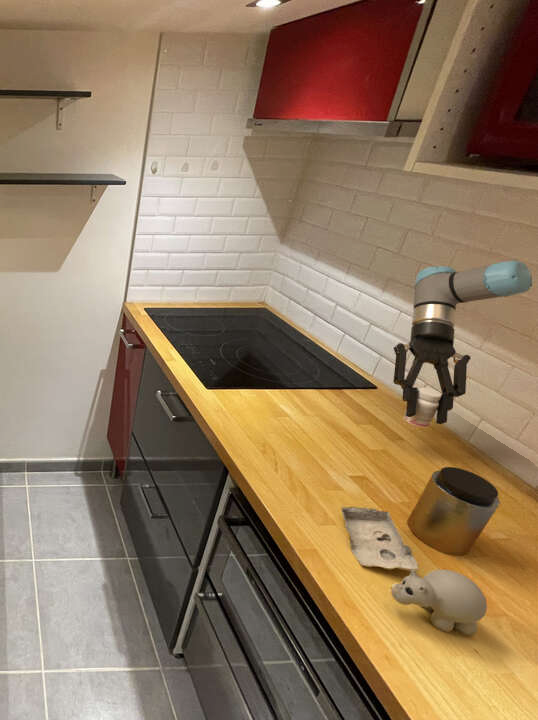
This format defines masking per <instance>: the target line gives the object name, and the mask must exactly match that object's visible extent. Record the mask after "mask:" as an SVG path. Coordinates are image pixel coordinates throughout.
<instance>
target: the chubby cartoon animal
mask: <svg viewBox="0 0 538 720" xmlns="http://www.w3.org/2000/svg"><path fill="white" fill-rule="evenodd" d="M390 594H391V596H392V598H393V600H394V601H395V602H397V603H398V604H401V605H403V606H409V605H416V606H418V607H423V608H425V609H426V610H429V611H433V612H432V613H431V615H430V619H429V620H430V622H431V624H432V625H433V626H434V627H436V628H437V629H439V631H443V632H446V633H448V632H451V631H452V630H453V629H454V628H455V629H456V630H457V631H458V632H460V633H462V634H464V635H466V636H473V635H475V634H476V633H477V630H478V623H477V622H479V621H481V620H482V619H483V618H484V617H485V615H486V614H487V610H488V604H487V597H486V596H485V594H484V593H483V591H482V589H481V588H480V587H479V586H478V585H477V584H476V583H475V582H474V581H473V580H471V579H470V578H469V577H467V576H465V575H464V574H462V573H459V572H457V571H454V570H451V569H445V568H444V569H442V568H441V569H435V570H431V571H429V572H427V573H426V574H425V575H424V577H420V576H418V573H417V571H416V570H413V569H412V570H411V571H410V573H409V575H407V576H405V577H404V578H403V579H402V580H401V582H400V583H399V582H396V583H393V584H392V586H391V587H390Z"/></svg>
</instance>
